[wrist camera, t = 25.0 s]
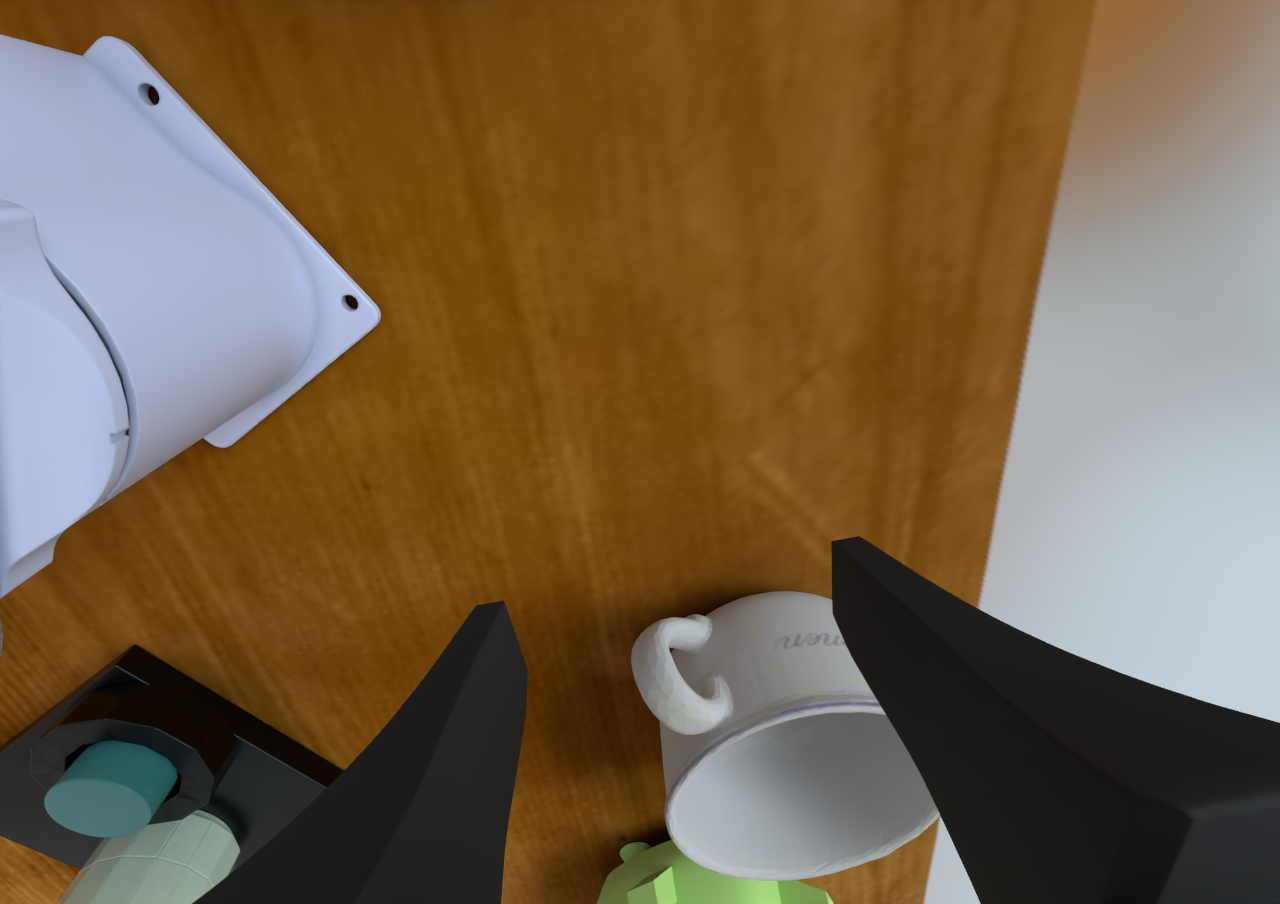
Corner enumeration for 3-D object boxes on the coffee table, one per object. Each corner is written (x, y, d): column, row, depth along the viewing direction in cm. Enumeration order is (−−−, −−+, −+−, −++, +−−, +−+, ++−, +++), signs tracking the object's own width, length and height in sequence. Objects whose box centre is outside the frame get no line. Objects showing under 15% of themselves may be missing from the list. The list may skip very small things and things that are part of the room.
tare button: (60, 766, 23) (21, 809, 21) (116, 725, 22) (81, 766, 20) (142, 806, 24) (112, 849, 23) (198, 769, 24) (170, 810, 22)
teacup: (895, 657, 28) (1001, 816, 21) (715, 753, 30) (758, 929, 23) (767, 463, 23) (852, 590, 16) (556, 595, 25) (546, 763, 17)
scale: (-45, 781, 26) (-117, 850, 23) (146, 634, 23) (90, 692, 21) (234, 904, 32) (203, 970, 29) (410, 798, 29) (393, 859, 27)
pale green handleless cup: (89, 814, 26) (-1, 930, 22) (208, 787, 26) (139, 898, 22) (158, 879, 29) (88, 993, 24) (267, 854, 29) (215, 965, 24)
